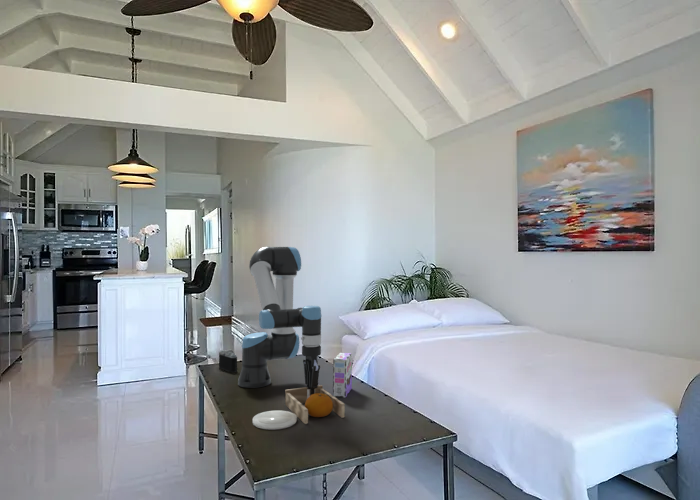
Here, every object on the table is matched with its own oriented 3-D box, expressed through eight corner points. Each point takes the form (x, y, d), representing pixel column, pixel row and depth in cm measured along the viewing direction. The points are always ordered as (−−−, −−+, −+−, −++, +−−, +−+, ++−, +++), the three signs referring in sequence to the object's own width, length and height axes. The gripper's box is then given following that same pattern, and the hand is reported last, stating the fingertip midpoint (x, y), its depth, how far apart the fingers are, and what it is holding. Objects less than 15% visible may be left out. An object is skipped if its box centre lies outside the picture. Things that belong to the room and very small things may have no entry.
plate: (248, 417, 172) (248, 413, 172) (289, 411, 179) (289, 407, 179) (258, 432, 157) (258, 428, 157) (302, 425, 164) (302, 421, 164)
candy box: (345, 398, 196) (346, 359, 196) (332, 397, 197) (332, 358, 197) (352, 388, 209) (352, 352, 209) (339, 387, 210) (339, 352, 210)
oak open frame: (285, 404, 187) (285, 389, 187) (321, 399, 193) (321, 385, 194) (304, 423, 166) (304, 407, 166) (344, 417, 173) (344, 401, 173)
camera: (243, 370, 241) (243, 351, 241) (232, 372, 236) (232, 353, 236) (228, 365, 251) (228, 346, 251) (217, 367, 247) (217, 348, 247)
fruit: (329, 421, 168) (329, 399, 169) (301, 419, 170) (302, 397, 170) (335, 411, 179) (335, 391, 179) (309, 409, 181) (309, 389, 181)
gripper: (297, 342, 187) (296, 401, 186) (308, 348, 175) (307, 410, 175) (314, 341, 190) (314, 398, 190) (326, 347, 178) (326, 408, 178)
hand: (311, 404), depth 182 cm, fingers closed
